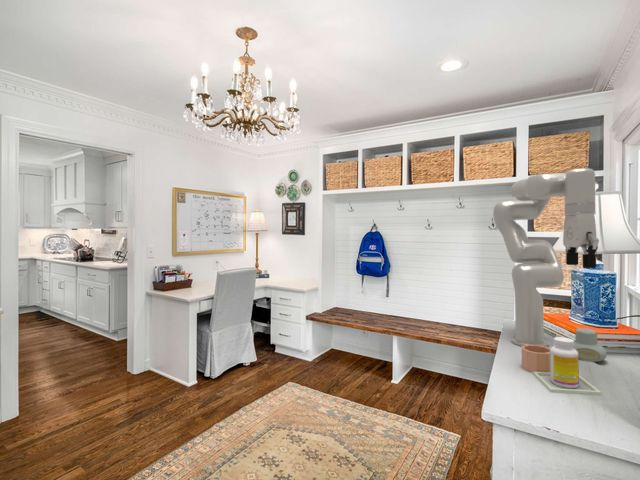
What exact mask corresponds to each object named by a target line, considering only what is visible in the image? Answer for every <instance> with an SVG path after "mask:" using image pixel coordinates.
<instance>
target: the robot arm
mask: <svg viewBox="0 0 640 480" xmlns="http://www.w3.org/2000/svg"><path fill="white" fill-rule="evenodd" d="M595 172H596V171H595V170H594V169H592V168H590V167H589V168H584V167H583V168H576V169H571V170H568V171H566V172H563V173H562V172H556V173H541V174H540V173H539V174H535V175H531V176H528V178H525V179H520V180H517V181H516V182H513V184H512V186H511V187H510V189H509V191H510V196H511V197H512V198H513V199H509V200H507V199H506V200H502V201H500V202H498V203H496V204H495V205H494V207H493V212H492V213H493V215H492V216H493V220H494V224H495V225H496V227H497V229H498V231H499V232H500V234H501V235H502V238H503V241H504V244H505V246H506V250H507V252H508V256H509V258H510V261H512V262H514V263H516V265H514V266H513V268H512V270H511V278H512V283H513V289H514V290H513V291H514V311H515V312H514V313H515V314H514V317H515V318H514V319H515V335H514V336H512V337H511V343H512V344H515V345H517V346H519V347H520V346H521V347H522V346H524V345H539V346H544V347H547V348H548V347H549V346H550V345H549V341H548V340H546V339H544V336H545V335H544V334H545V333H544V332H545V331H544V330H545V329H544V325H545V324H544V299H543V296H542V294H541V293H540V292H539V291H538V289H537V288H557V287H559V286H561V285H562V284H563V283H564V277H565V275H564V270H563V268H562V265H561V263H560V261H559V258H558V255H557V254H556V251H555V249H554V247H553V245H552V244H551V243H550V242H549V241H548V240H545V239H530V238H529V237H528V235H527V233H526V230H525V229H524V228H523V227H522V225H520V224H519V223H517V222H516V221H521V220H522V221H523V220H524V221H529V220H535V219H538V218H539V217H540V216H541V214H542V213H543V212H544V210H545V208H546V207H547V205H548V203H549V201H550V200H551V198H552V197H553V198H554V197H555V198H556V197H564V216H565V217H564V222H563V236H562V237H563V238H562V244H563V246H564V247H565V250H564V251H565V260H566V262H565V264H566V265H567V266H578V265H579V252H577V251H578V249H579V248H580V247H581V249H582V252H583V254H582V268H584V269H596V268H597V253H598V251H597V250H598V249H599V246H598V245H599V242H600V240H599V238H598V237H597V225H596V218H595V215H596V211H597V210H596V173H595Z"/></svg>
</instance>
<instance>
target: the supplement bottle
mask: <svg viewBox="0 0 640 480" xmlns="http://www.w3.org/2000/svg"><path fill="white" fill-rule="evenodd" d="M574 341H575V340H574V339H572V338H568V337H563V336H556V337H554V338H553V343H554V345H553V346H552V347H550V376H549V377H550V382H551V383H552V384H554V385H555V386H557V387H561V388H563V389H576V388H578V387H579V386H580V380H579V375H580V373H579V370H580V368H579V367H580V363H579V360H580V359H578V352H577V351H576V350H575V349H574V348H573V346H574Z"/></svg>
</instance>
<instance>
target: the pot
mask: <svg viewBox="0 0 640 480" xmlns="http://www.w3.org/2000/svg"><path fill="white" fill-rule="evenodd" d="M550 349H551V347H548V346H547V347H544V346H539V345H524V346H521V369H523V370H525V371H527V372H529V373H530V372H531V373H533V372H549V373H550Z"/></svg>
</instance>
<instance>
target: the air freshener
mask: <svg viewBox="0 0 640 480" xmlns="http://www.w3.org/2000/svg"><path fill="white" fill-rule="evenodd" d="M574 337H575V340H574V346H573V348H574V349H575V350H576V351H577V352H578V359H579V360H580V361H585V362H591V363H592V362H593V363H599V362H602V361H604V360H605V359H606V358H607V355H608V353H607V352H608V351H607V350H606V349H605V347H604V346H602V345H601V344H599V343H598V333H597V331H596V330H594V329H590V328H584V327H583V328H576V329H575V336H574Z"/></svg>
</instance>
